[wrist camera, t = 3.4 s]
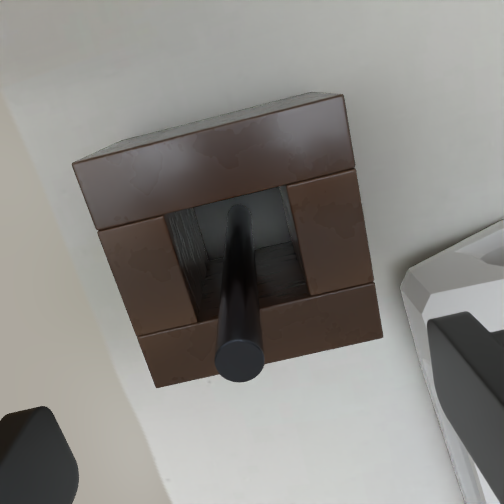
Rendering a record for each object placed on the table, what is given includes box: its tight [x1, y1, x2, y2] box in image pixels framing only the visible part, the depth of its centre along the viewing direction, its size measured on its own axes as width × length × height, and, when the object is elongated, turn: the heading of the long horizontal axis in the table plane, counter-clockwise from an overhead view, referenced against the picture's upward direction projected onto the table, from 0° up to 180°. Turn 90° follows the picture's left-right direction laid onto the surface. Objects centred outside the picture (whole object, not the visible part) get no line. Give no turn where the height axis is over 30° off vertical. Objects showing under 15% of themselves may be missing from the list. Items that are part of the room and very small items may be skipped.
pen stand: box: [72, 92, 383, 388], centre depth 21 cm, size 10×10×7 cm
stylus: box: [214, 205, 265, 382], centre depth 17 cm, size 1×1×14 cm
